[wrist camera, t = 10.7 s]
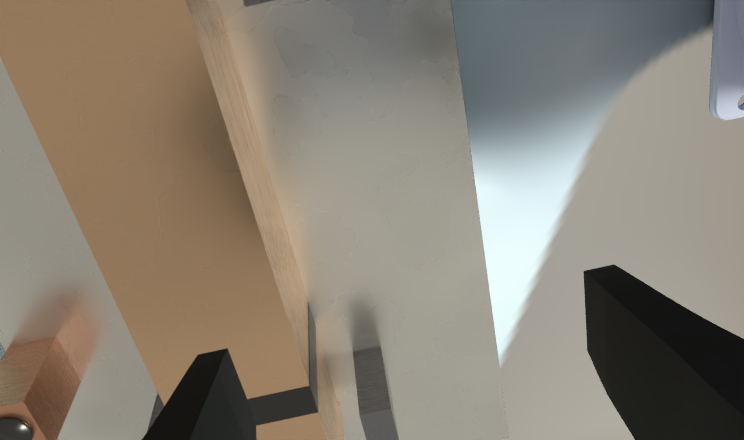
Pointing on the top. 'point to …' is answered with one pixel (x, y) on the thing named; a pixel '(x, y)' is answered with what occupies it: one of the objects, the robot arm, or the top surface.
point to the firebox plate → (304, 228)
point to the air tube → (173, 194)
